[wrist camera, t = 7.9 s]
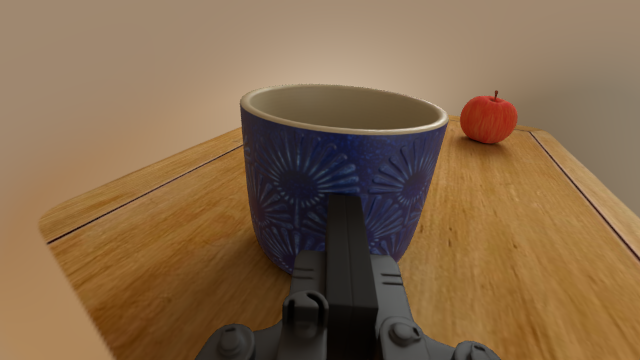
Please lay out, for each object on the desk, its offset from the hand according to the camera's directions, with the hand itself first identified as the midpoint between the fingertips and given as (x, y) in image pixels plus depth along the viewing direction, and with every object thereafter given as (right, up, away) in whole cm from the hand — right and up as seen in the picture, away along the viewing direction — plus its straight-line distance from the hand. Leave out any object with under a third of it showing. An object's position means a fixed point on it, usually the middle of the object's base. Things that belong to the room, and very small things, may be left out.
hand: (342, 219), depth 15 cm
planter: (0, -3, +9) cm, 9 cm away
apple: (+26, +8, +36) cm, 45 cm away
